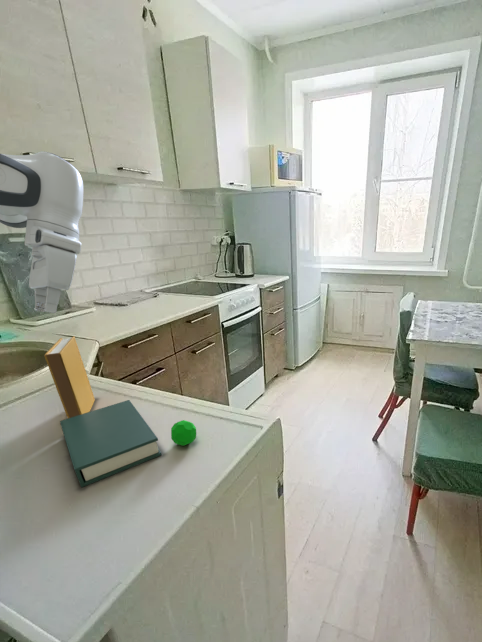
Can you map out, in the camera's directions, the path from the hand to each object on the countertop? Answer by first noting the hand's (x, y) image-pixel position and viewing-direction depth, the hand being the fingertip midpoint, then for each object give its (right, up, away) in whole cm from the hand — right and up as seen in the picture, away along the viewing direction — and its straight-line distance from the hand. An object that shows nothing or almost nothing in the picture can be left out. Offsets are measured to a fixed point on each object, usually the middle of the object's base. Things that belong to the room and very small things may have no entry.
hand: (45, 312), depth 72 cm
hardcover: (+14, -27, 0) cm, 30 cm away
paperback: (0, -21, +13) cm, 25 cm away
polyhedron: (+29, -27, -1) cm, 39 cm away
